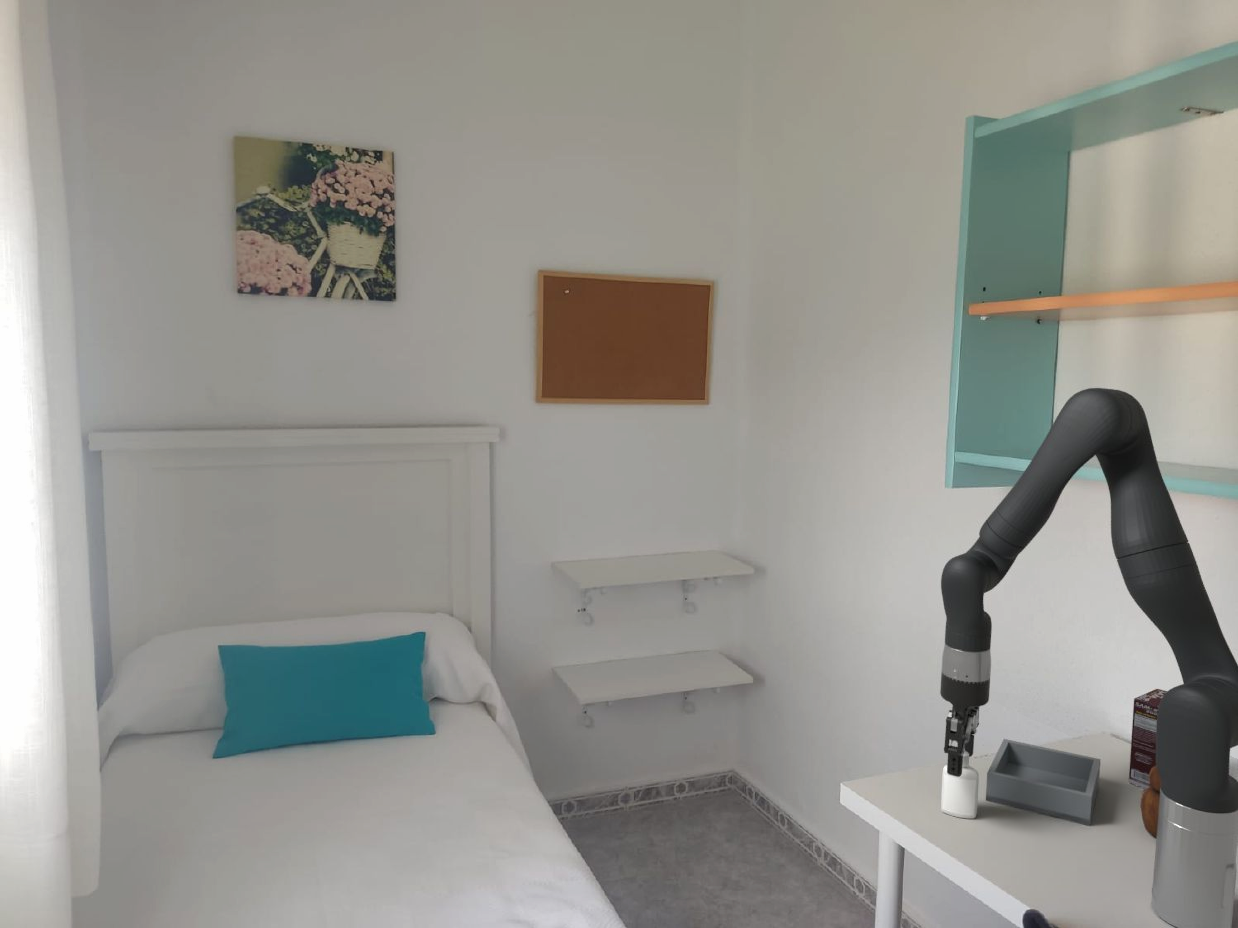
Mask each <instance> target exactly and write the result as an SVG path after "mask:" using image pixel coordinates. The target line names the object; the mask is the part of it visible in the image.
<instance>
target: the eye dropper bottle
mask: <svg viewBox="0 0 1238 928" xmlns="http://www.w3.org/2000/svg"><path fill="white" fill-rule="evenodd" d="M941 775H942V776H941V777H942V778H941V795H940V796H941V797H940V800H941V801H940V810H941V812H942V813H944V814H946V815H948V816H952V817H955V818H959V819H968V820H969V819H970V820H972V819H975V818H976V817H977V813H978V801H979V800H978V799H979V771H978V770H977V769H976V768H975V767H972V766H970V757H969V753H968V752H967V751H965V748H964V754H963V765H962V774H961V776H960V777H957V776H953V775H949V774H948V773H947V764H945V765H944V767H943V769H942V774H941Z"/></svg>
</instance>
